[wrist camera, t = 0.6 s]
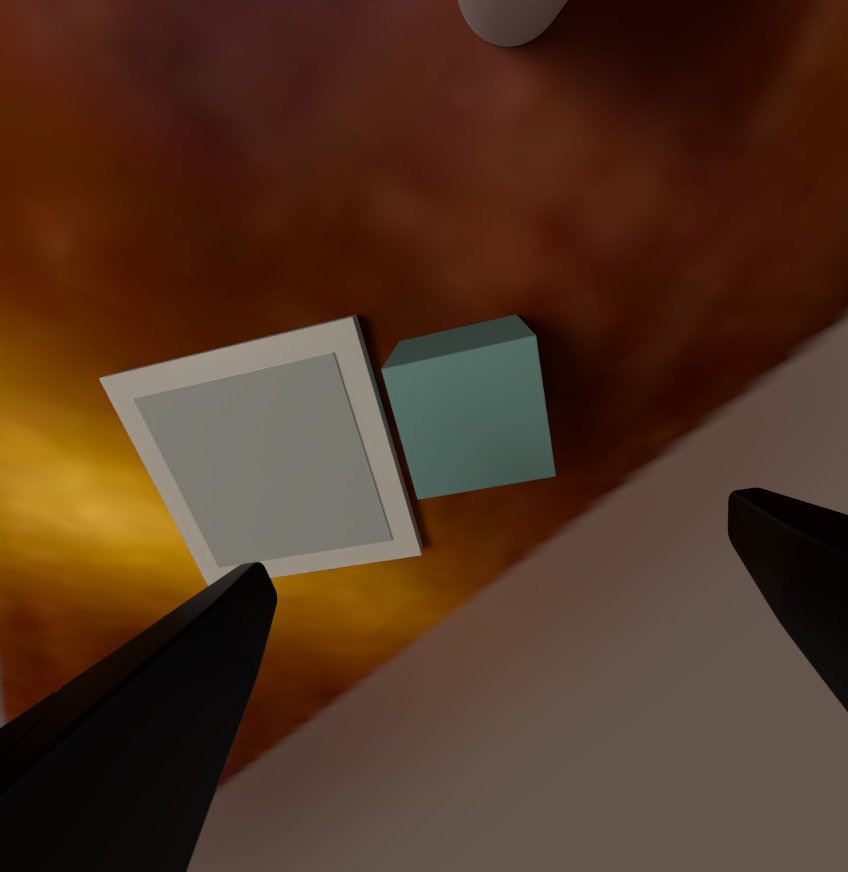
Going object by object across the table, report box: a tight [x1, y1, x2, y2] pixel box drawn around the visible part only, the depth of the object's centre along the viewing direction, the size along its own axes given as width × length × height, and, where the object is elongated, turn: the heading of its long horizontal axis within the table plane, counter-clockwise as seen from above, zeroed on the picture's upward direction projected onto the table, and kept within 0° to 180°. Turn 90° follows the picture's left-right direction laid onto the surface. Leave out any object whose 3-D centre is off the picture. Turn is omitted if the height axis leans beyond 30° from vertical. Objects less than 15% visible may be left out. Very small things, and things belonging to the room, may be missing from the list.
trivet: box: [99, 314, 423, 586], centre depth 21 cm, size 12×12×1 cm
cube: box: [381, 315, 556, 499], centre depth 17 cm, size 5×5×5 cm
